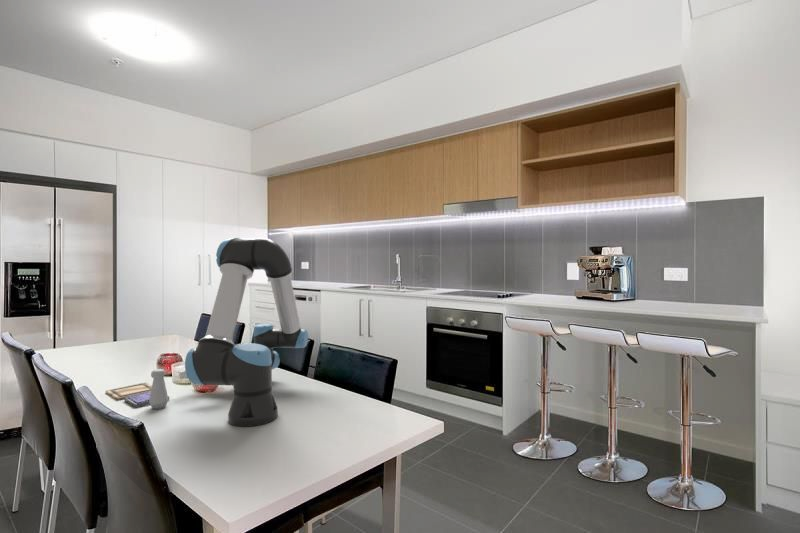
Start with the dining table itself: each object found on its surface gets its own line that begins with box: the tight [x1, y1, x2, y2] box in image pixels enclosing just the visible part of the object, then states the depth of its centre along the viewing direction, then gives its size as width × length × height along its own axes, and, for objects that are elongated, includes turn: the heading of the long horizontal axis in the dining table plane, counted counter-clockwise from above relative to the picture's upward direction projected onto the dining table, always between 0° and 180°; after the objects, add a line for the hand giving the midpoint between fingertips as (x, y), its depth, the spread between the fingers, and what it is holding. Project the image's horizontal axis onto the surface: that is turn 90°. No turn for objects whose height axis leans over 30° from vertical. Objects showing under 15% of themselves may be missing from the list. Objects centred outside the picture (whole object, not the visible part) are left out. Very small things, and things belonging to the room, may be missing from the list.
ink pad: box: [124, 392, 170, 409], centre depth 160 cm, size 11×11×2 cm
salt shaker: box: [149, 368, 169, 410], centre depth 152 cm, size 6×6×13 cm
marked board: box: [105, 382, 152, 401], centre depth 170 cm, size 14×14×1 cm
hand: (187, 379), depth 160 cm, fingers open, 13 cm apart
